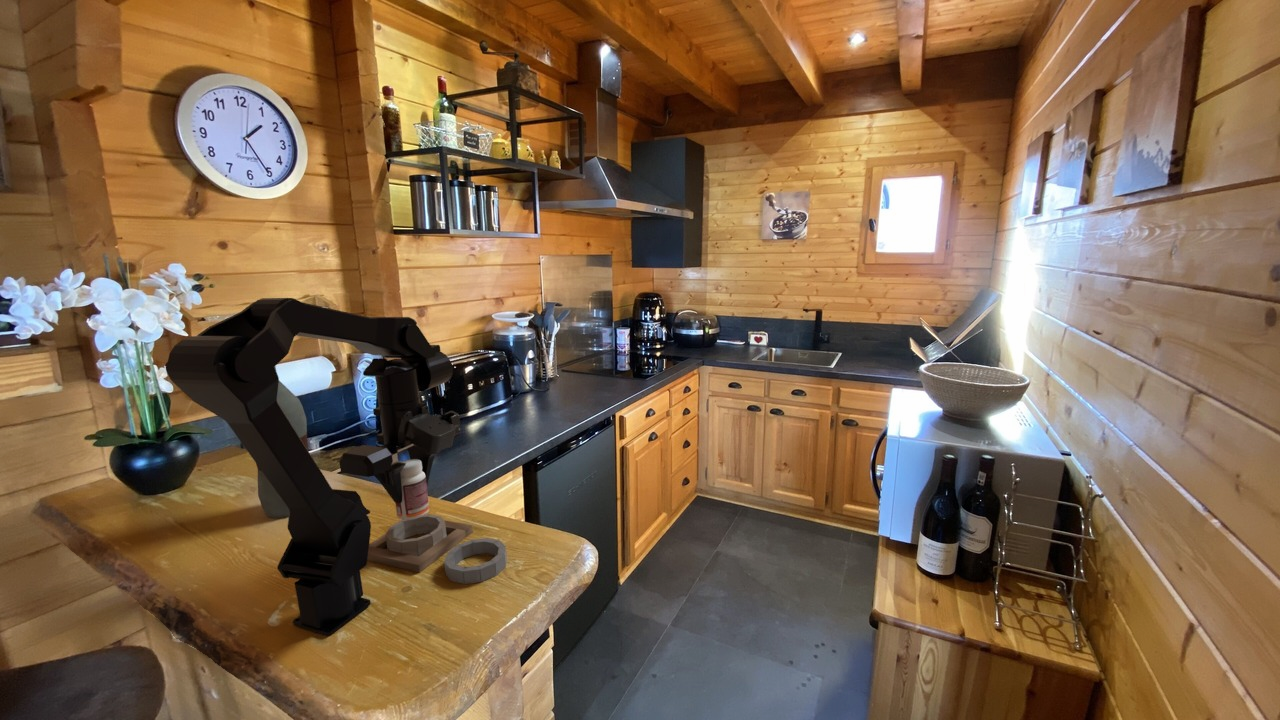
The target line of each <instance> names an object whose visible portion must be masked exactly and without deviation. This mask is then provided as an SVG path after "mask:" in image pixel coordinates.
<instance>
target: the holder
mask: <svg viewBox="0 0 1280 720" xmlns="http://www.w3.org/2000/svg"><path fill="white" fill-rule="evenodd" d="M481 554H482V555H483V554H488V555H492V556H493V555H494V557H493V558H491V560H489V561H486V562H483V563H482V564H478V565H471V566H463V565H458V564H459V563H460V562H461V561H463V559H466V558H469V557H472V556H474V555H481ZM507 560H508V557H507V547H506V545H505V544H504V543H503V542H502V541H501V540H499V539H494V538H489V537H483V538H476V539H469V540H467V541H465V542H462V543H458V544H457V545H455V546H454V547H453V548H451V549H450V550H449V551H447V552H446V555H445V559H444V561H443V564H444V572H445V575H446V576H447V578H448V579H449V580H450V581H451V582H454V583H458V584H462V585H467V584H468V585H469V584H475V583H483V582H484V581H487V580H490V579H492V578H495V577H496V576H497V575H499V574H500V573H501V571H503V570H504V569H505V568H506V567H507Z"/></svg>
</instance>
